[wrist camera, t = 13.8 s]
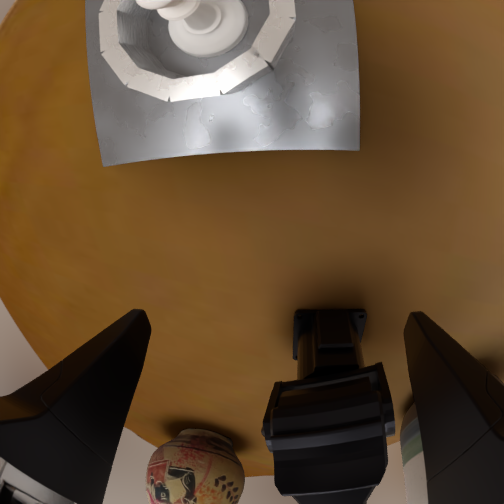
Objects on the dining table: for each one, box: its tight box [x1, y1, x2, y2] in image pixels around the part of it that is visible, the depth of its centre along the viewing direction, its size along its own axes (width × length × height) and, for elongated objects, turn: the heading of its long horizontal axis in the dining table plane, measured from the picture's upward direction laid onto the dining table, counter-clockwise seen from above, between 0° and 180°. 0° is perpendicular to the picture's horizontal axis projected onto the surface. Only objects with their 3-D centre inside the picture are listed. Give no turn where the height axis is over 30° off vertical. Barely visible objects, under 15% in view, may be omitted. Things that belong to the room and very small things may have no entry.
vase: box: [400, 374, 504, 504], centre depth 22 cm, size 17×17×24 cm
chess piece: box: [135, 0, 248, 58], centre depth 10 cm, size 5×5×10 cm
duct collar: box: [85, 0, 360, 167], centre depth 13 cm, size 18×18×5 cm
